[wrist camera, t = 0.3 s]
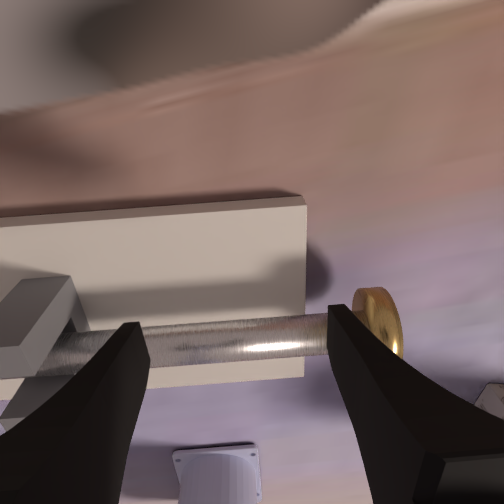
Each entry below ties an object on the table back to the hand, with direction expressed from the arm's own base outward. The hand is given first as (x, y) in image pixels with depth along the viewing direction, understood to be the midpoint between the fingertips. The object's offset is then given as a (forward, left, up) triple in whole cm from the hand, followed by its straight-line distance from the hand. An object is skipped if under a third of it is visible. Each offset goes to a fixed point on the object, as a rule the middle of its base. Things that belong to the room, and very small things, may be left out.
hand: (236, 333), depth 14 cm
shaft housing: (-5, +9, -10) cm, 15 cm away
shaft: (-5, +3, -8) cm, 10 cm away
